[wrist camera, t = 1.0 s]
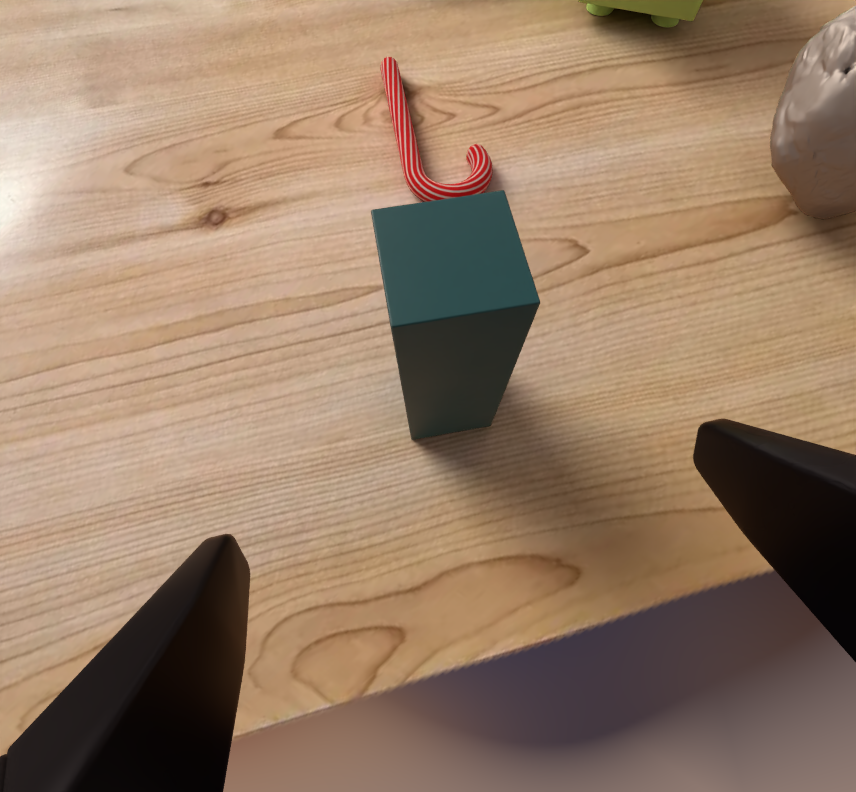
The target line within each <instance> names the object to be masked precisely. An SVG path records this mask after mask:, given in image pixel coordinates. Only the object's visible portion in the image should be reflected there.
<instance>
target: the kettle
mask: <svg viewBox="0 0 856 792" xmlns="http://www.w3.org/2000/svg"><path fill="white" fill-rule="evenodd" d="M702 1H703V0H579V1H578V2H583V3H588V4H587V6H586V8H587V10H588V11H589V12H590V13H591V14H594V15H597V16H605V15H608V14H610V13H611V12H612V11H613V9H614V8H618V9H623V10H629V11H635V12H641V13H647V14H652V16H651V19H652V21H653V22H654V23H655V24H656V25H658V26H661V27H673V26H675V25H677V24H678V22H679V19H681V20H687V21H693V20H694V18H695V16H696V14H697V12H698V10H699V8H700V6H701V4H702Z"/></svg>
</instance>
